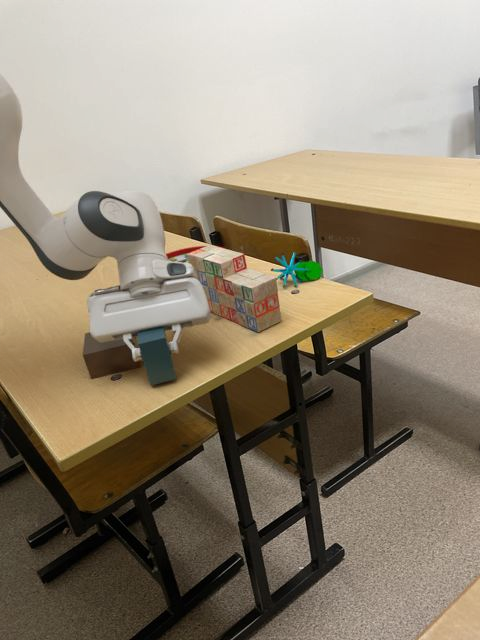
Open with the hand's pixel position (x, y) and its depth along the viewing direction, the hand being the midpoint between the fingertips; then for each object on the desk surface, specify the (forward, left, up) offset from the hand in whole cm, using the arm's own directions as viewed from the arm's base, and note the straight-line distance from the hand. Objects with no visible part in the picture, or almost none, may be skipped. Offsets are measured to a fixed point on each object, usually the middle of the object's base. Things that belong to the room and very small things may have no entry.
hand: (156, 356), depth 87 cm
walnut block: (-8, +12, -5) cm, 15 cm away
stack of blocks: (+17, +20, -5) cm, 27 cm away
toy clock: (+11, +43, -5) cm, 44 cm away
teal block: (0, +1, -4) cm, 4 cm away
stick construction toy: (+33, +30, -5) cm, 45 cm away
